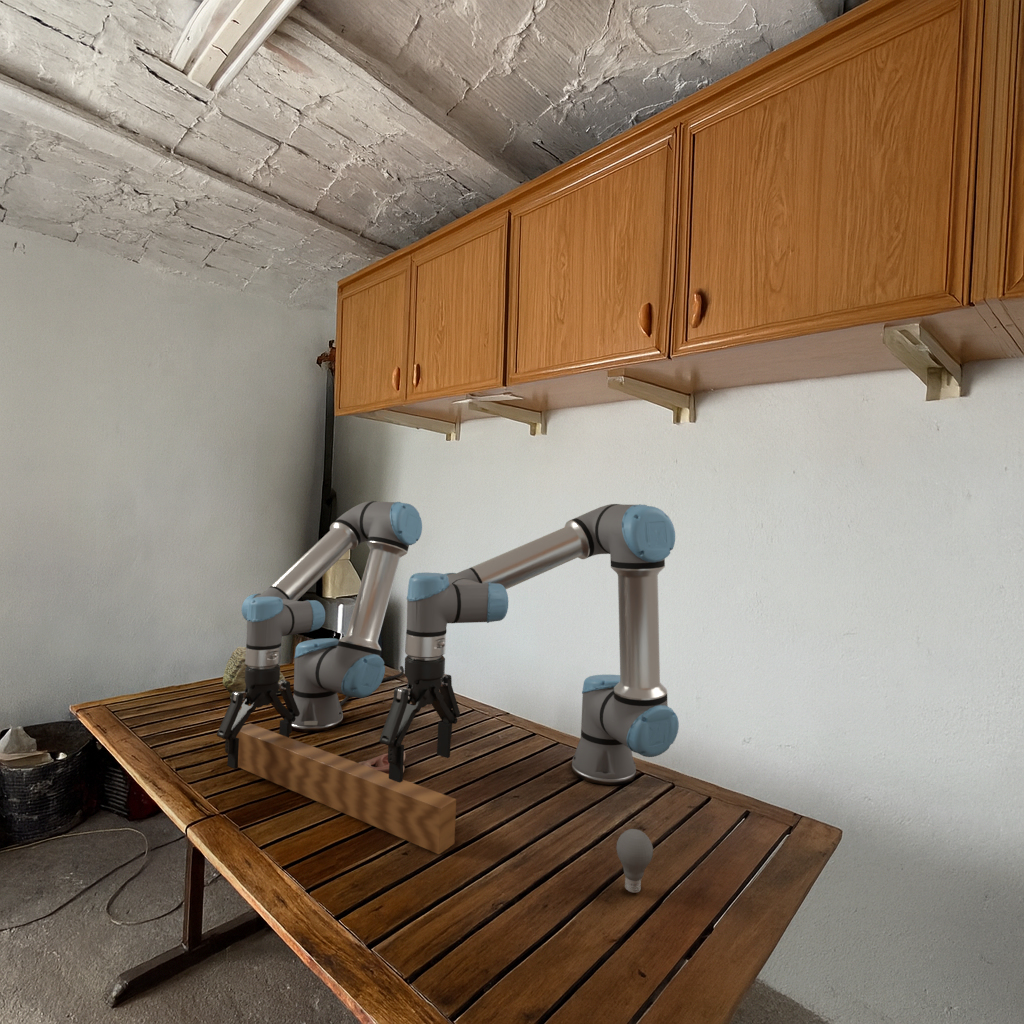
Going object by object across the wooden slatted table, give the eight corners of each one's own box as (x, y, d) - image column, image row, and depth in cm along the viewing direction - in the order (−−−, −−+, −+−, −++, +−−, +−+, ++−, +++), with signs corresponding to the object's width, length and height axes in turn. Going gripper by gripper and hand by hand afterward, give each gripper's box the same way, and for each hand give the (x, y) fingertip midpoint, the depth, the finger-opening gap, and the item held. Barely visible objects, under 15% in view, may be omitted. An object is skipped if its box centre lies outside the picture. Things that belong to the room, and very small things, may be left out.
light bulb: (610, 879, 108) (613, 822, 108) (644, 879, 109) (647, 822, 109) (619, 902, 102) (622, 840, 102) (655, 901, 103) (658, 840, 103)
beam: (231, 764, 148) (233, 728, 147) (249, 758, 151) (250, 723, 151) (438, 854, 114) (440, 808, 114) (454, 843, 118) (456, 799, 118)
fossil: (218, 695, 195) (220, 647, 195) (278, 685, 208) (279, 640, 207) (228, 703, 189) (230, 653, 188) (289, 692, 201) (290, 645, 201)
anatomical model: (336, 761, 142) (359, 742, 153) (336, 778, 142) (358, 758, 153) (392, 768, 139) (411, 749, 151) (391, 786, 139) (410, 765, 151)
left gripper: (222, 679, 133) (218, 780, 133) (317, 658, 154) (313, 745, 154) (202, 672, 137) (198, 770, 137) (296, 653, 158) (293, 737, 158)
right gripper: (393, 672, 107) (388, 797, 107) (480, 647, 128) (475, 751, 128) (362, 664, 111) (357, 785, 111) (450, 641, 132) (446, 742, 132)
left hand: (259, 757), depth 146 cm, fingers open, 13 cm apart
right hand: (420, 767), depth 120 cm, fingers open, 13 cm apart
